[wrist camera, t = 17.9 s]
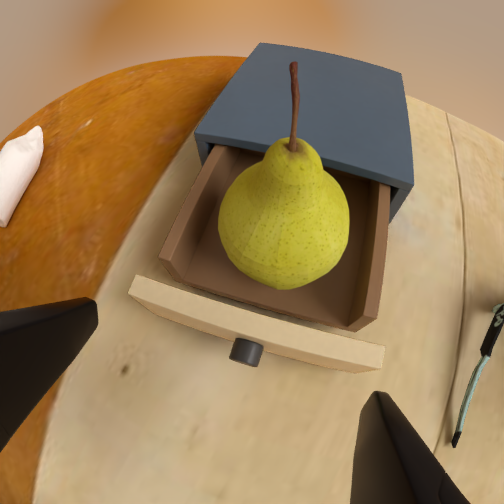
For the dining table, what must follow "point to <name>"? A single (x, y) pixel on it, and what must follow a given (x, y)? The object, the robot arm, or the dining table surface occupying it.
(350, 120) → the cabinet
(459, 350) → the dining table surface
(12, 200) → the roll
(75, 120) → the dining table surface
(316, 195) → the fruit
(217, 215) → the drawer
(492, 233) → the dining table surface
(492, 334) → the sunglasses
